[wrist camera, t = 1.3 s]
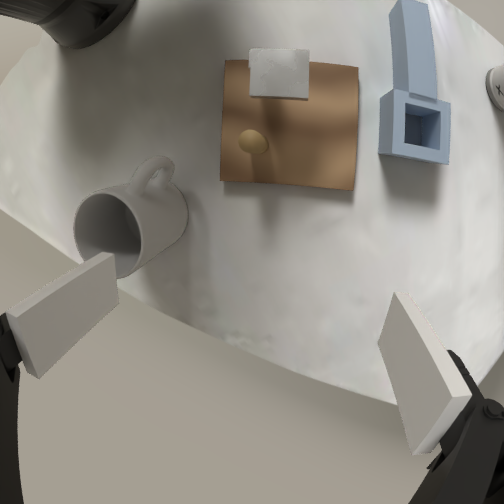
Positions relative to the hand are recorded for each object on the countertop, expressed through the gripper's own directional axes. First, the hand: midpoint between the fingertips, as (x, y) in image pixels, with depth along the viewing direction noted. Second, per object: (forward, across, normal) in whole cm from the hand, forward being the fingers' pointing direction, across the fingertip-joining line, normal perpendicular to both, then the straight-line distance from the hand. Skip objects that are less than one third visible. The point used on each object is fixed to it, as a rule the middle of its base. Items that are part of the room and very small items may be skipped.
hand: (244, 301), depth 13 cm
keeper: (+19, -1, +13) cm, 24 cm away
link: (+21, +13, +17) cm, 30 cm away
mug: (+21, -14, 0) cm, 25 cm away
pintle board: (+21, 0, +10) cm, 23 cm away
